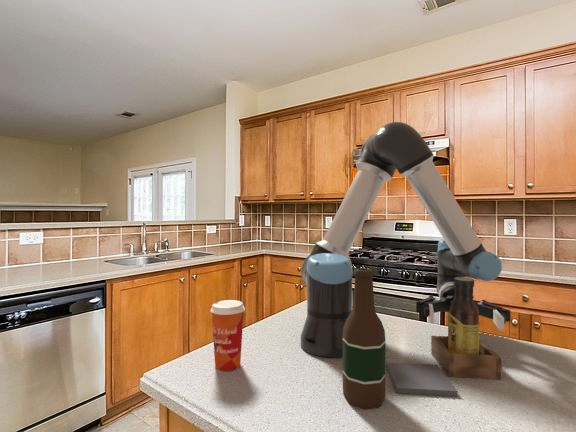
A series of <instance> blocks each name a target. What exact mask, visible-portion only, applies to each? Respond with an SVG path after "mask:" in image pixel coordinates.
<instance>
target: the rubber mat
mask: <svg viewBox="0 0 576 432" xmlns="http://www.w3.org/2000/svg"><path fill="white" fill-rule="evenodd" d="M386 370H387V372H388V375H389V377H390V379H391V381H392V385H393V386H394V387H393V388H394V389H395V391H396V393H397V394H412V395H425V396H427V395H428V396H441V397H442V396H445V397H458V390H457V389H456V388H455V386H454V385H453V384H452V381H450V380H449V378H448V377H447V375H446V373H444V372H443V369H441V368H440V365H439V364H433V363H431V364H430V363H412V362H411V363H410V362H408V363H407V362H394V361H392V362H391V361H388V362H387V361H386Z"/></svg>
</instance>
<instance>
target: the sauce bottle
mask: <svg viewBox="0 0 576 432" xmlns="http://www.w3.org/2000/svg"><path fill="white" fill-rule="evenodd" d="M454 285H455V294H454V298H453V301H452V303H451V306H450V308H449V311H448V312H447V313H448V316H447V322H448V324H447V336H448V350H449V351H450V352H451V353H453V354H475V355H479V340H480V315H479V309H478V307H477V305H476V304H475V302H474V298H475V297H474V287H475V279H474V278H471V277H468V276H465V277H456V278H454Z"/></svg>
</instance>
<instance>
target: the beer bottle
mask: <svg viewBox="0 0 576 432" xmlns="http://www.w3.org/2000/svg"><path fill="white" fill-rule="evenodd" d="M352 276H354V288H353V300H352V312H351V314H350V315H349V317H348V318H347V319H346V322H345V325H344V327H343V357H342V391H343V392H342V393H343V396H344V398H345V399H346V401H347V402H348V404H349V405H352V406H353V407H357V408H360V409H363V410H368V409H369V410H370V409H376V408H380V407H381V406H382V403H383V402H384V401H385V399H386V385H387V383H386V381H387V380H386V377H387V376H386V370H387V367H386V362H387V361H386V360H387V359H386V331H385V327H384V325H383V323H382V320H381V319H380V317H379V316H378V314H377V312H376V305H375V297H374V295H375V294H374V283H373V282H374V281H373V280H374V279H373V277H374V276H375V273H374V270H373V269H371V268H367V267H366V268H365V267H359V268H356V269H354V270H353V275H352Z"/></svg>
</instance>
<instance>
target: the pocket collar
mask: <svg viewBox="0 0 576 432" xmlns="http://www.w3.org/2000/svg"><path fill="white" fill-rule="evenodd" d="M430 339H431V341H430V342H431V343H430V345H431V346H430V352H431V355H432V358H434V360H435V361H436V362H437V363H438V366H439V367H441V368H442V371H444V372H445V375H446V376H448V377H450V378H466V379H467V378H470V379H485V380H486V379H488V380H489V379H490V380H502V357H501V356H500V355H499V354H498V353H497V352H495V351H494V350H492V349H491V348H490V347H489V346H487V345H486V343H484V342H482V341H481V340H480V339H479V355H475V354H453V353H451V352H450V351H449V350H448V335H447V336H446V335H431V337H430Z"/></svg>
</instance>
